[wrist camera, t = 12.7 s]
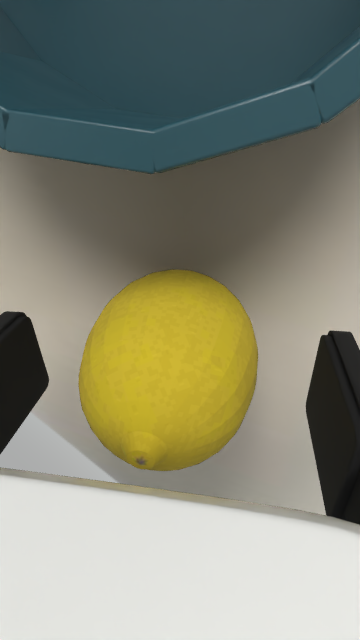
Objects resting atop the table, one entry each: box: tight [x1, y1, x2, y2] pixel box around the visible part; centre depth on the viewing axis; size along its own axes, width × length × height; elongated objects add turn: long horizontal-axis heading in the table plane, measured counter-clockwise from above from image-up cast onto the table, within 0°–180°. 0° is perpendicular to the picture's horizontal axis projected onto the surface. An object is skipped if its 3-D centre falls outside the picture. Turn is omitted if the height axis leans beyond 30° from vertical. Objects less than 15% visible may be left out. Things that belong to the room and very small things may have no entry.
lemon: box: [79, 269, 258, 471], centre depth 11 cm, size 6×6×8 cm
